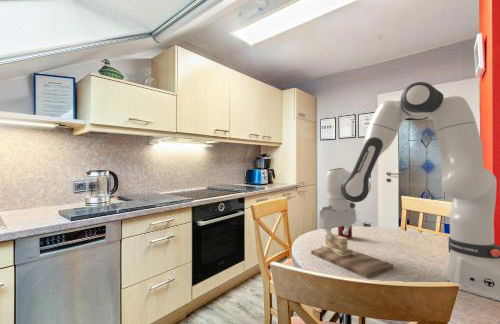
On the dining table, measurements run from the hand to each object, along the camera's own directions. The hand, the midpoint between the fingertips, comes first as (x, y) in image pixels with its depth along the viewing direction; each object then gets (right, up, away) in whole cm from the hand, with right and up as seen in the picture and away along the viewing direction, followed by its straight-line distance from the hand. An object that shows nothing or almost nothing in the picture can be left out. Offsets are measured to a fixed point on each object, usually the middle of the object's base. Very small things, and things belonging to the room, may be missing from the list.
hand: (338, 236), depth 107 cm
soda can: (+14, -9, +27) cm, 32 cm away
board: (+3, -9, -5) cm, 10 cm away
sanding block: (0, -7, +1) cm, 7 cm away
